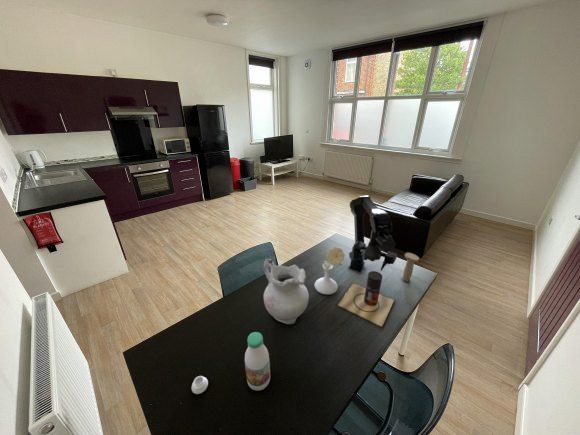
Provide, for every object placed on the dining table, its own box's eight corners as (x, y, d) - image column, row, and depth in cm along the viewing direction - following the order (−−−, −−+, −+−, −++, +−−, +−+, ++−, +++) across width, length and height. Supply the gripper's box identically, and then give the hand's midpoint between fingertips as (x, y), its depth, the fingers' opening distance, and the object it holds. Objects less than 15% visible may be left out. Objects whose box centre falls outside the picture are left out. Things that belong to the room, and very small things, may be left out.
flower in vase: (311, 293, 116) (313, 249, 105) (318, 278, 126) (320, 237, 115) (338, 300, 112) (343, 256, 101) (342, 285, 121) (347, 243, 111)
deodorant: (377, 298, 112) (382, 272, 106) (377, 307, 107) (382, 281, 101) (364, 295, 114) (368, 270, 107) (363, 304, 109) (368, 278, 102)
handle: (403, 275, 128) (409, 251, 122) (414, 282, 123) (421, 258, 117) (397, 278, 126) (403, 254, 119) (408, 285, 121) (414, 260, 114)
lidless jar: (205, 394, 76) (209, 378, 80) (204, 388, 74) (208, 372, 79) (189, 395, 75) (194, 378, 80) (188, 389, 74) (193, 373, 79)
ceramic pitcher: (252, 319, 103) (245, 276, 91) (273, 288, 119) (270, 248, 106) (297, 338, 95) (296, 293, 83) (314, 302, 110) (315, 260, 98)
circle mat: (337, 305, 109) (337, 304, 109) (353, 284, 122) (353, 283, 122) (382, 327, 98) (382, 326, 98) (393, 301, 111) (394, 300, 111)
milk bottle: (248, 368, 83) (243, 328, 74) (270, 366, 84) (267, 326, 75) (246, 392, 76) (240, 351, 67) (270, 390, 77) (267, 348, 68)
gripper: (350, 239, 107) (346, 267, 113) (393, 254, 97) (386, 284, 103) (359, 230, 115) (355, 256, 121) (400, 242, 105) (393, 270, 111)
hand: (371, 266), depth 114 cm, fingers open, 9 cm apart
